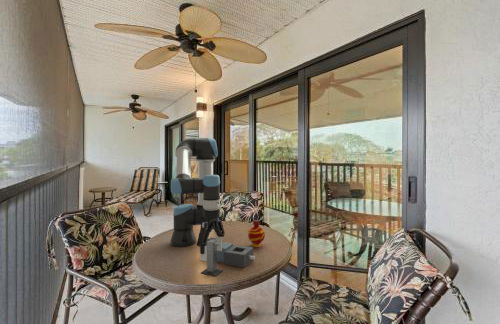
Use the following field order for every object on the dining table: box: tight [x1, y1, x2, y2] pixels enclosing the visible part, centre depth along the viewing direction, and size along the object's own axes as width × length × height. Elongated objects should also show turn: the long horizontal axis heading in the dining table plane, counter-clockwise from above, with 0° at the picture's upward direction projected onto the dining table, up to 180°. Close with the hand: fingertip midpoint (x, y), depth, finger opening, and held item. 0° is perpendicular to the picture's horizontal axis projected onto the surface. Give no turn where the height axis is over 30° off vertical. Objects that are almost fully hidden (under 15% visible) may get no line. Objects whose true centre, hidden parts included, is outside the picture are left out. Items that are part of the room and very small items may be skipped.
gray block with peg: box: [206, 240, 218, 273], centre depth 116 cm, size 3×6×14 cm, turn 66°
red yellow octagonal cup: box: [247, 219, 266, 248], centre depth 152 cm, size 10×10×15 cm
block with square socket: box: [205, 236, 256, 268], centre depth 131 cm, size 27×11×9 cm, turn 66°
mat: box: [200, 267, 224, 277], centre depth 117 cm, size 8×6×1 cm
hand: (211, 255), depth 116 cm, fingers open, 13 cm apart
